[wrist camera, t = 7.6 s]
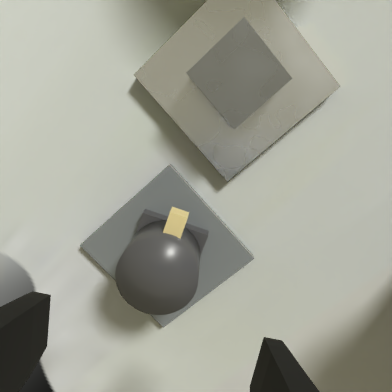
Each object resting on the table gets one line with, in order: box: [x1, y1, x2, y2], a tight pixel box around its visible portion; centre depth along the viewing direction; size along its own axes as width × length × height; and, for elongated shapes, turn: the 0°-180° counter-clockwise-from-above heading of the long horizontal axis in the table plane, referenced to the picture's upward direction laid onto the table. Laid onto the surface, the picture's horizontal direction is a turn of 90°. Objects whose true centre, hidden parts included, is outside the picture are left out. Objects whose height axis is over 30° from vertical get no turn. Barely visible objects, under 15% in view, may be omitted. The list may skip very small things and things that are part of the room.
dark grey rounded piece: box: [115, 207, 209, 315], centre depth 18 cm, size 6×4×4 cm
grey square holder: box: [134, 0, 340, 181], centre depth 16 cm, size 8×8×3 cm
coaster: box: [80, 164, 254, 327], centre depth 20 cm, size 8×8×1 cm
